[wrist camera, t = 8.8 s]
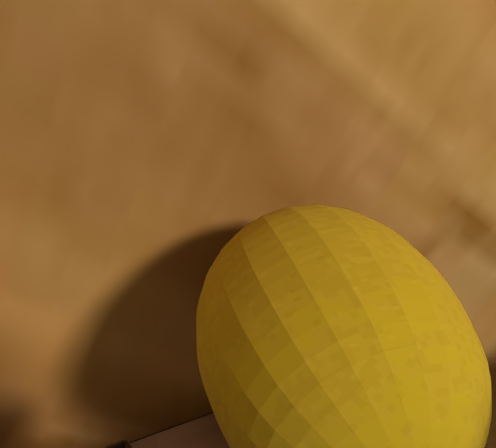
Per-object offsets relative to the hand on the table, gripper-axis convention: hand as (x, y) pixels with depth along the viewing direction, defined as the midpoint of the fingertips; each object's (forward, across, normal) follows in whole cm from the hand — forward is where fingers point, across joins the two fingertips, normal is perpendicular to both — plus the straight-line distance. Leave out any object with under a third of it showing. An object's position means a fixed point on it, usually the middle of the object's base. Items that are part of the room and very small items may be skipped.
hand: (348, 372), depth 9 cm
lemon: (+5, 0, 0) cm, 5 cm away
